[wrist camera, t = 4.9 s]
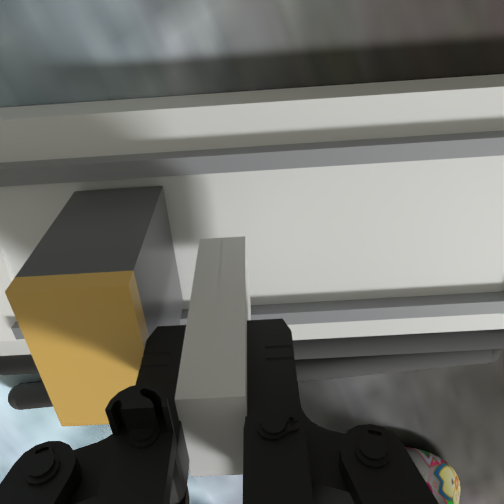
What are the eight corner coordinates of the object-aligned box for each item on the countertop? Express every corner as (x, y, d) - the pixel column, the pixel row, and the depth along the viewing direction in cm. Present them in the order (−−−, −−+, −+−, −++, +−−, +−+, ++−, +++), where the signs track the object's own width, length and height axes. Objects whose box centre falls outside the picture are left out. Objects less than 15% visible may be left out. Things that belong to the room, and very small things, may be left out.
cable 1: (1, 362, 23) (-10, 381, 22) (-7, 343, 22) (-20, 362, 21) (538, 333, 22) (553, 351, 21) (546, 313, 22) (560, 331, 21)
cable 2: (19, 396, 24) (10, 416, 23) (10, 379, 24) (-1, 399, 23) (492, 348, 23) (503, 367, 22) (495, 329, 22) (507, 347, 21)
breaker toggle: (107, 306, 19) (61, 426, 14) (74, 191, 16) (4, 291, 12) (183, 302, 19) (162, 421, 14) (162, 185, 16) (128, 285, 11)
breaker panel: (-21, 334, 22) (-44, 368, 20) (-127, 116, 17) (-172, 136, 15) (558, 302, 21) (587, 334, 20) (643, 64, 16) (693, 79, 14)
